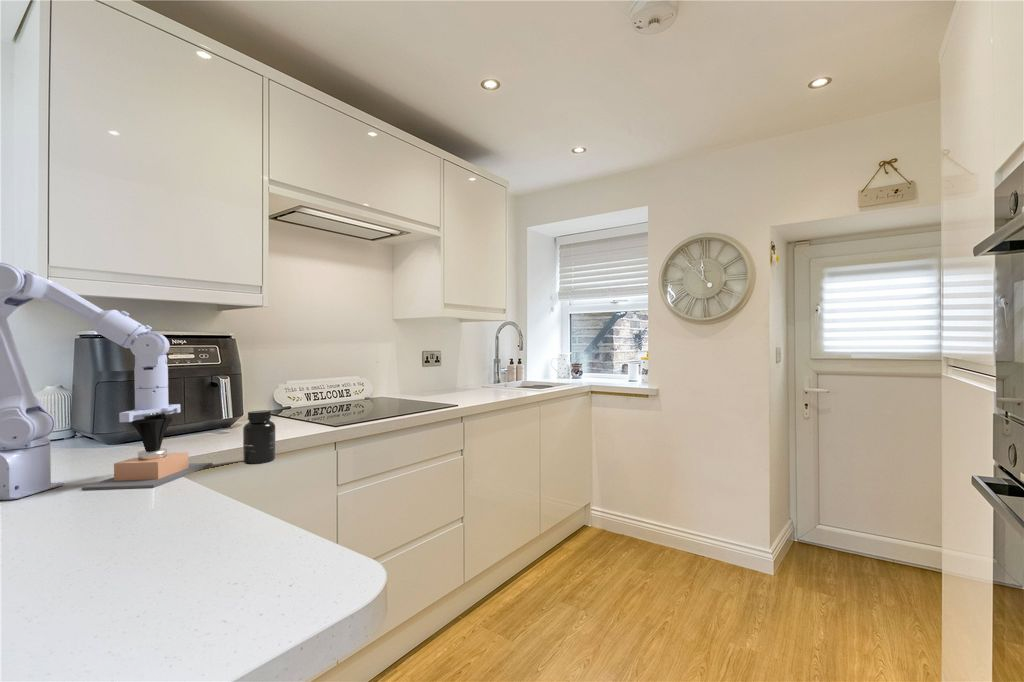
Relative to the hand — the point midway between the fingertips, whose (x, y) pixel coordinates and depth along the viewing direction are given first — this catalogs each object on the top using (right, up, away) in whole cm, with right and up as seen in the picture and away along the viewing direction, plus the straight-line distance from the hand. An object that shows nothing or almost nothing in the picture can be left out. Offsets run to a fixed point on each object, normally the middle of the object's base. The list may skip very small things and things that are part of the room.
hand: (152, 450), depth 99 cm
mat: (0, -5, 0) cm, 5 cm away
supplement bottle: (+17, -5, +11) cm, 21 cm away
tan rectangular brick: (0, -5, 0) cm, 5 cm away
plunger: (0, -5, 0) cm, 5 cm away
